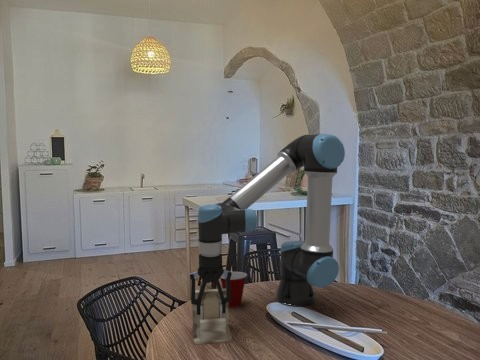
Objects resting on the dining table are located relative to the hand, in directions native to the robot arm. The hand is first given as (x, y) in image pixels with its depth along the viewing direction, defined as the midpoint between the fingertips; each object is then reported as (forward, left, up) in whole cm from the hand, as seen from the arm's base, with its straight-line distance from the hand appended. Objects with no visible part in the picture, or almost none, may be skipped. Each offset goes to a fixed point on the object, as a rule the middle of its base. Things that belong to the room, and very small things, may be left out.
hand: (211, 323), depth 134 cm
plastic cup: (-10, -23, -4) cm, 25 cm away
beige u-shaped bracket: (0, 0, -4) cm, 4 cm away
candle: (0, 0, -1) cm, 1 cm away
